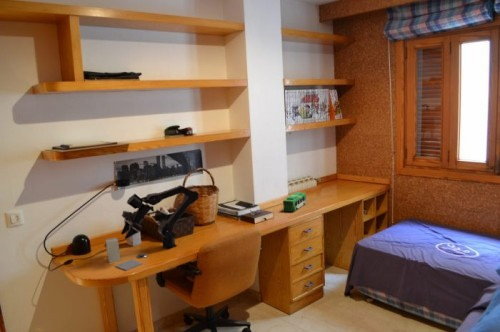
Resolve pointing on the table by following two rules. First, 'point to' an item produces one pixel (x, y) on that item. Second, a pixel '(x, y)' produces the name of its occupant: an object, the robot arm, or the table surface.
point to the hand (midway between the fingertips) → (123, 236)
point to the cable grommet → (142, 255)
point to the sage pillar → (113, 250)
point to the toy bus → (294, 202)
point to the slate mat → (128, 265)
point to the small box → (134, 239)
